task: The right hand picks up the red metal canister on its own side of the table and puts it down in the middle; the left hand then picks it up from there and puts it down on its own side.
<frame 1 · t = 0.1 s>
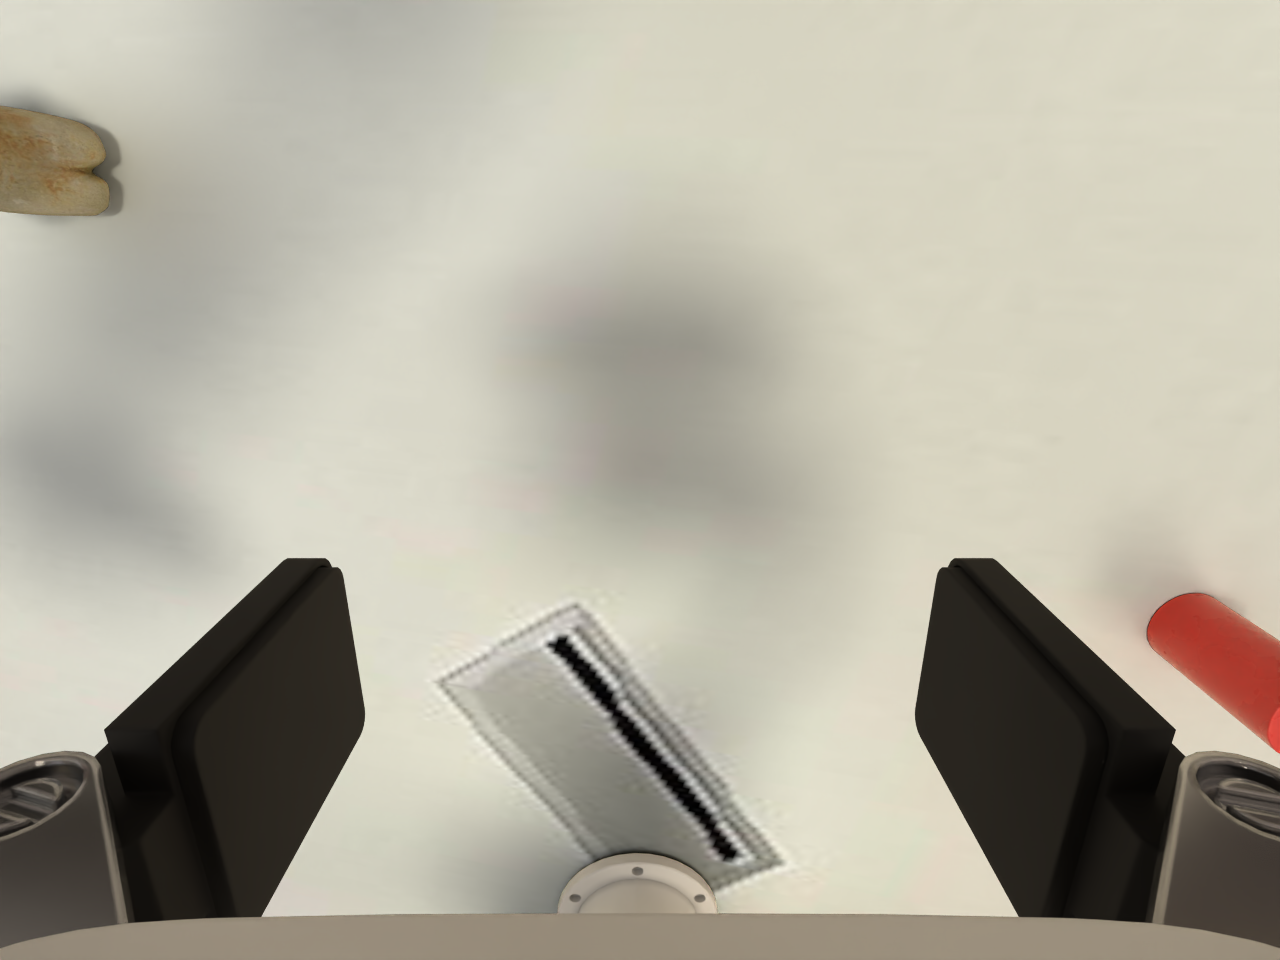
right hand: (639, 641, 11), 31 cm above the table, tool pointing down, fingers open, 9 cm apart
sculpture: (55, 165, 37), on the table
canister: (1185, 625, 47), on the table
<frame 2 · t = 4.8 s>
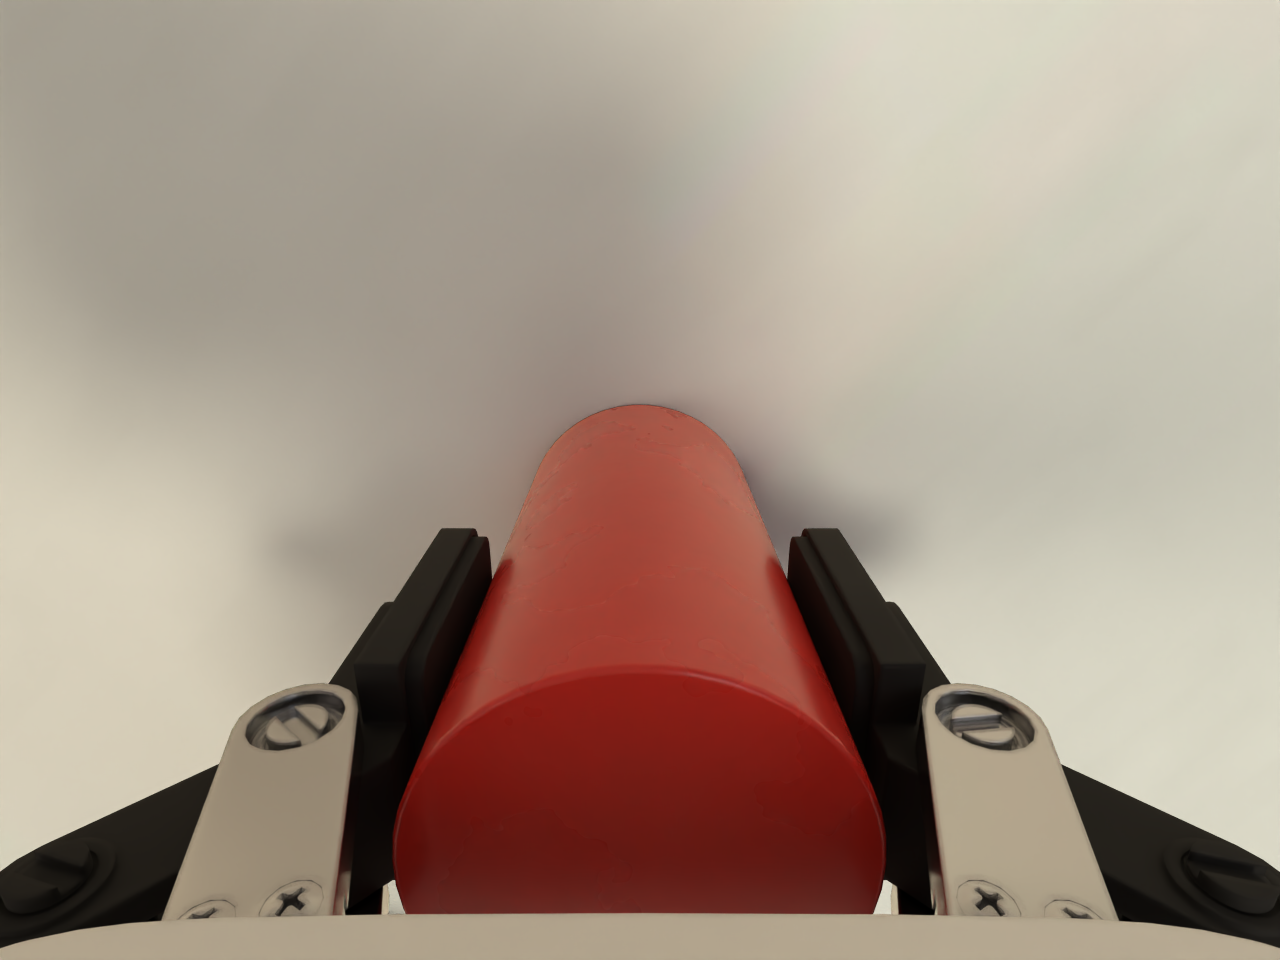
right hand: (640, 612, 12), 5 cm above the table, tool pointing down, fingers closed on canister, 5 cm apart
canister: (639, 509, 16), on the table, touching right hand
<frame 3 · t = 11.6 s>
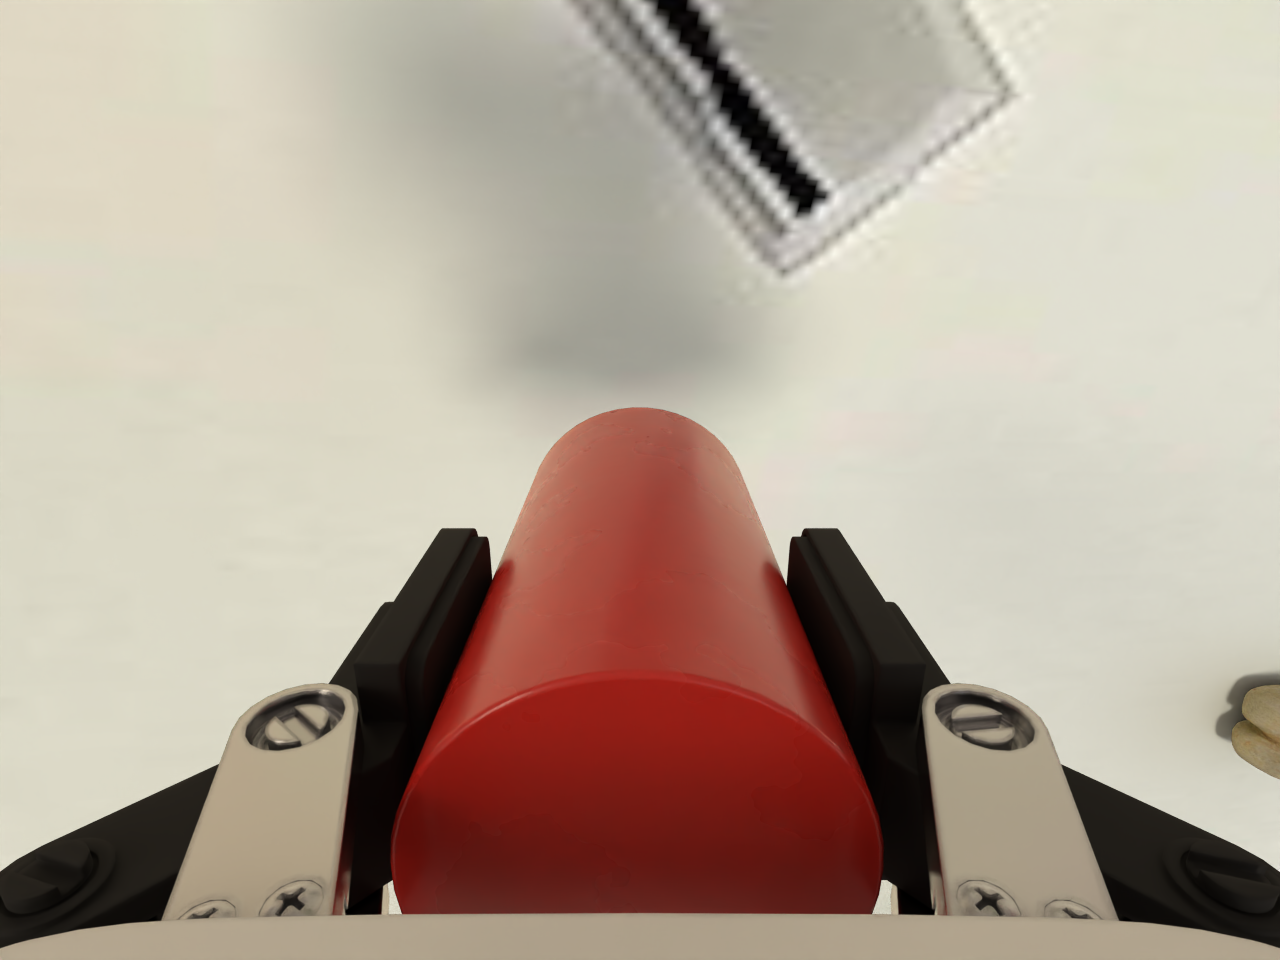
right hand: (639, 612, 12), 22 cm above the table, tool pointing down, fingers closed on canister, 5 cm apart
canister: (638, 512, 16), point 18 cm above the table, touching right hand
when the right hand's fingers open (5 cm above the table, at t = 18.4 s): canister stays where it is, on the table.
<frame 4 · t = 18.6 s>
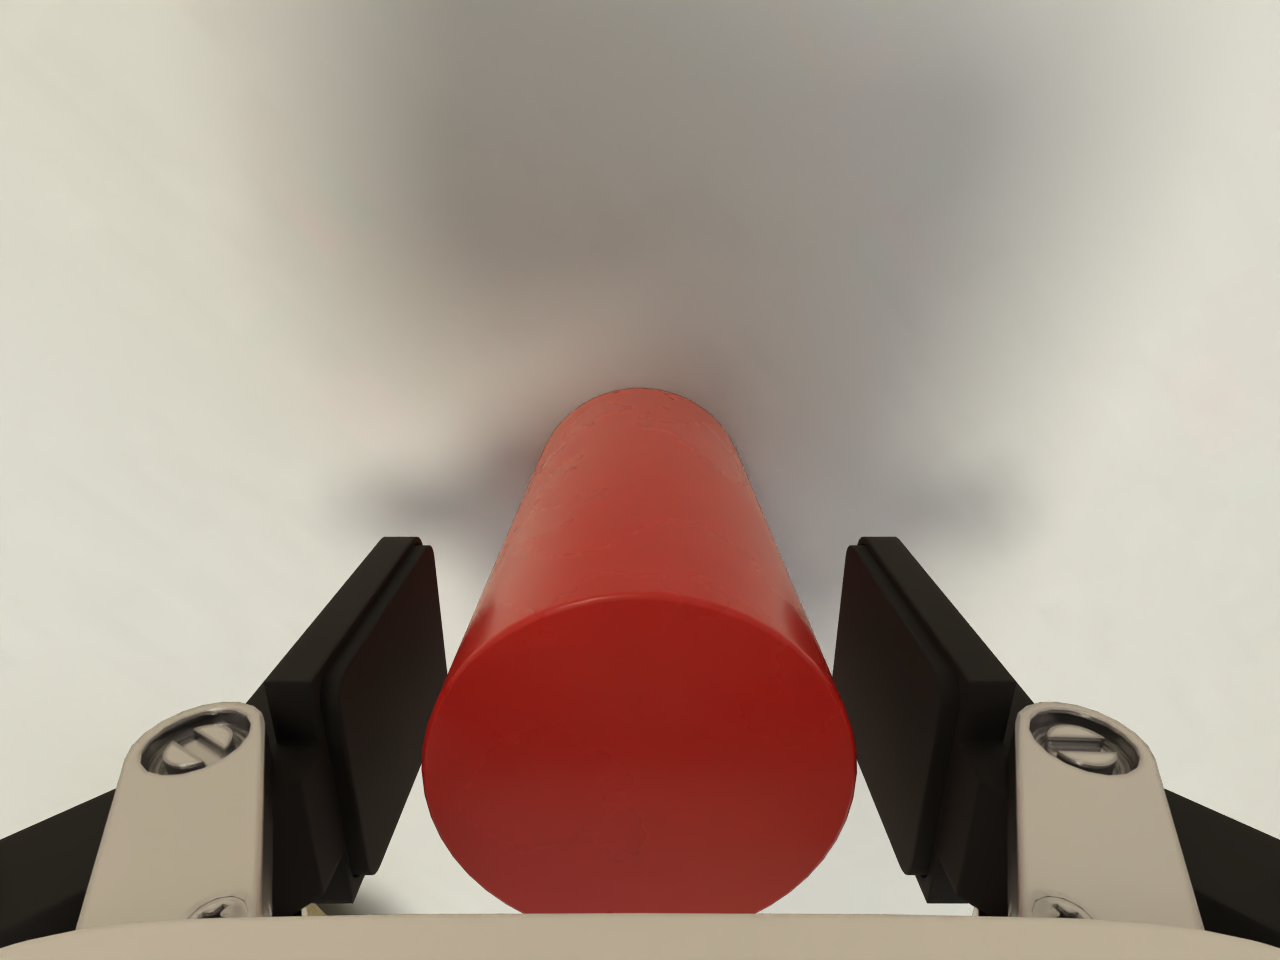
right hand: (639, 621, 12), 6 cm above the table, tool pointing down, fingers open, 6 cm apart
canister: (639, 488, 17), on the table
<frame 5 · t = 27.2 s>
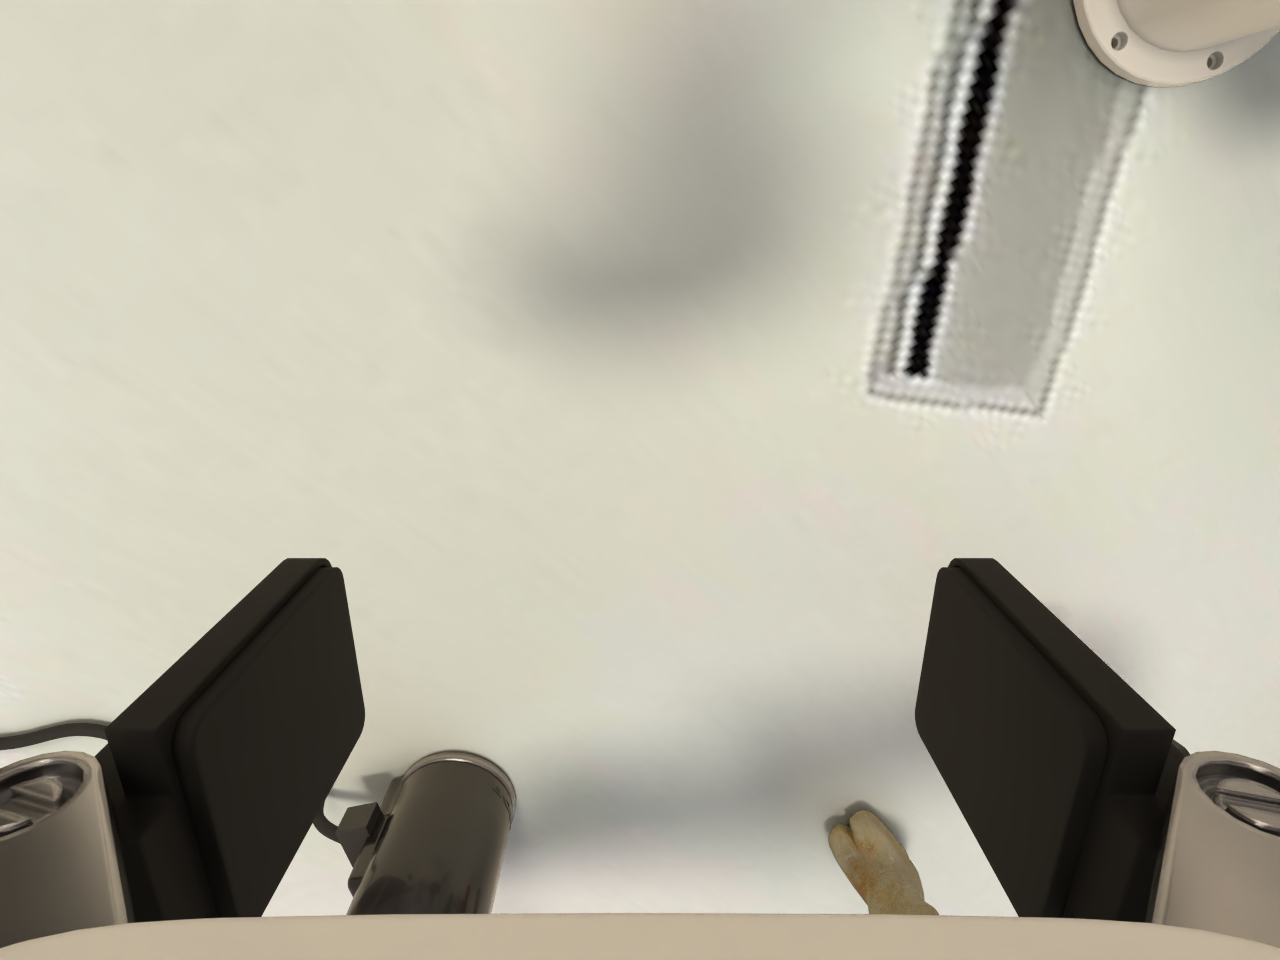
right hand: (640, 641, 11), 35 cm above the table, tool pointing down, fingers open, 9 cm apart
sculpture: (865, 834, 59), on the table
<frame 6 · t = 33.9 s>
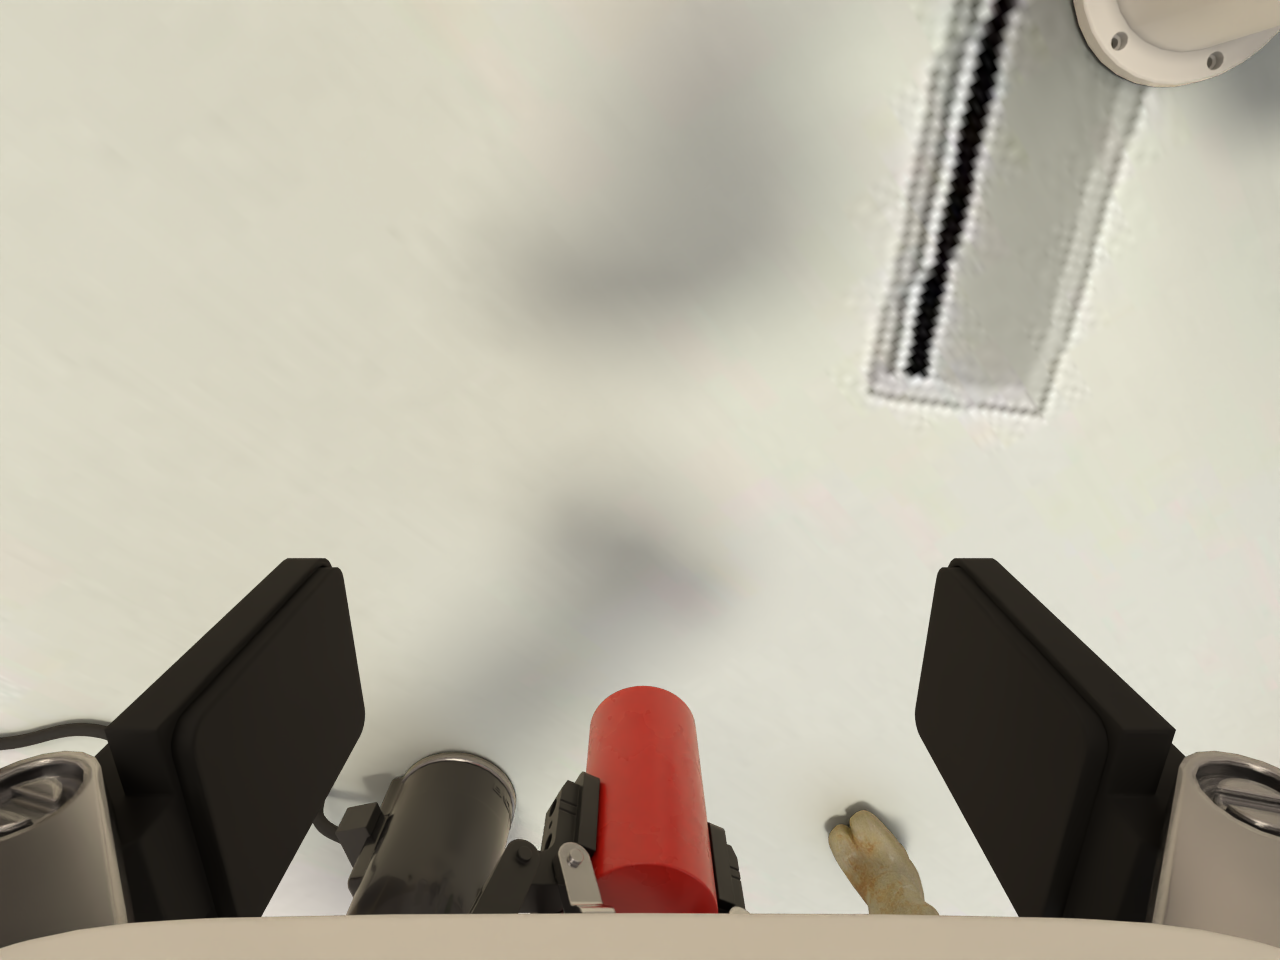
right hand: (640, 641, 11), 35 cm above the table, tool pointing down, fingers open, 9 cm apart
sculpture: (865, 834, 59), on the table
canister: (642, 729, 33), point 18 cm above the table, touching left hand
when the left hand's fingers open (6 cm above the table, at t = 40.8 s): canister stays where it is, on the table.
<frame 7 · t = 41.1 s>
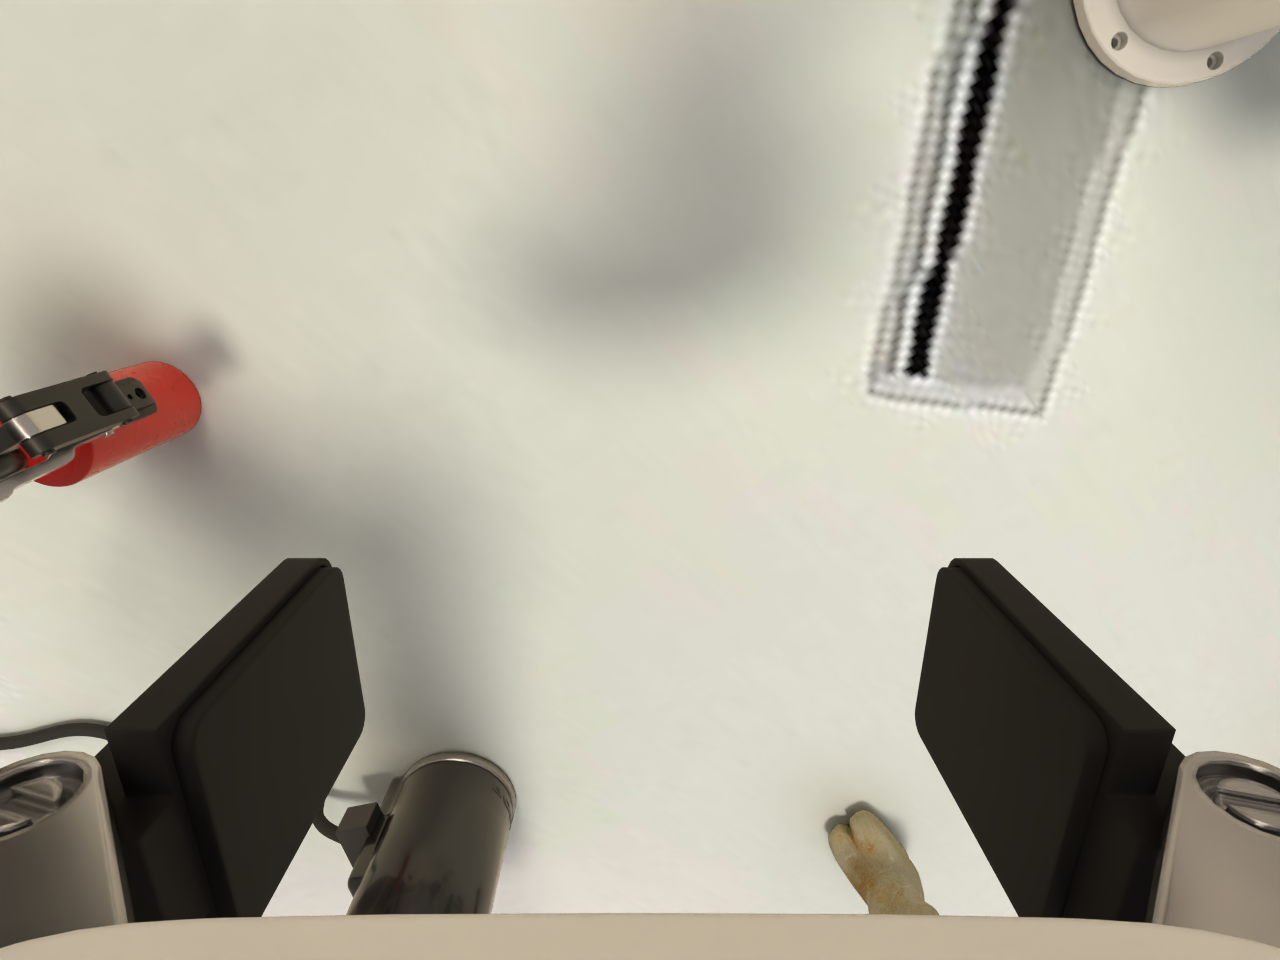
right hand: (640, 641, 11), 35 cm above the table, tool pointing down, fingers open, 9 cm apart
sculpture: (865, 834, 59), on the table
canister: (162, 399, 46), on the table
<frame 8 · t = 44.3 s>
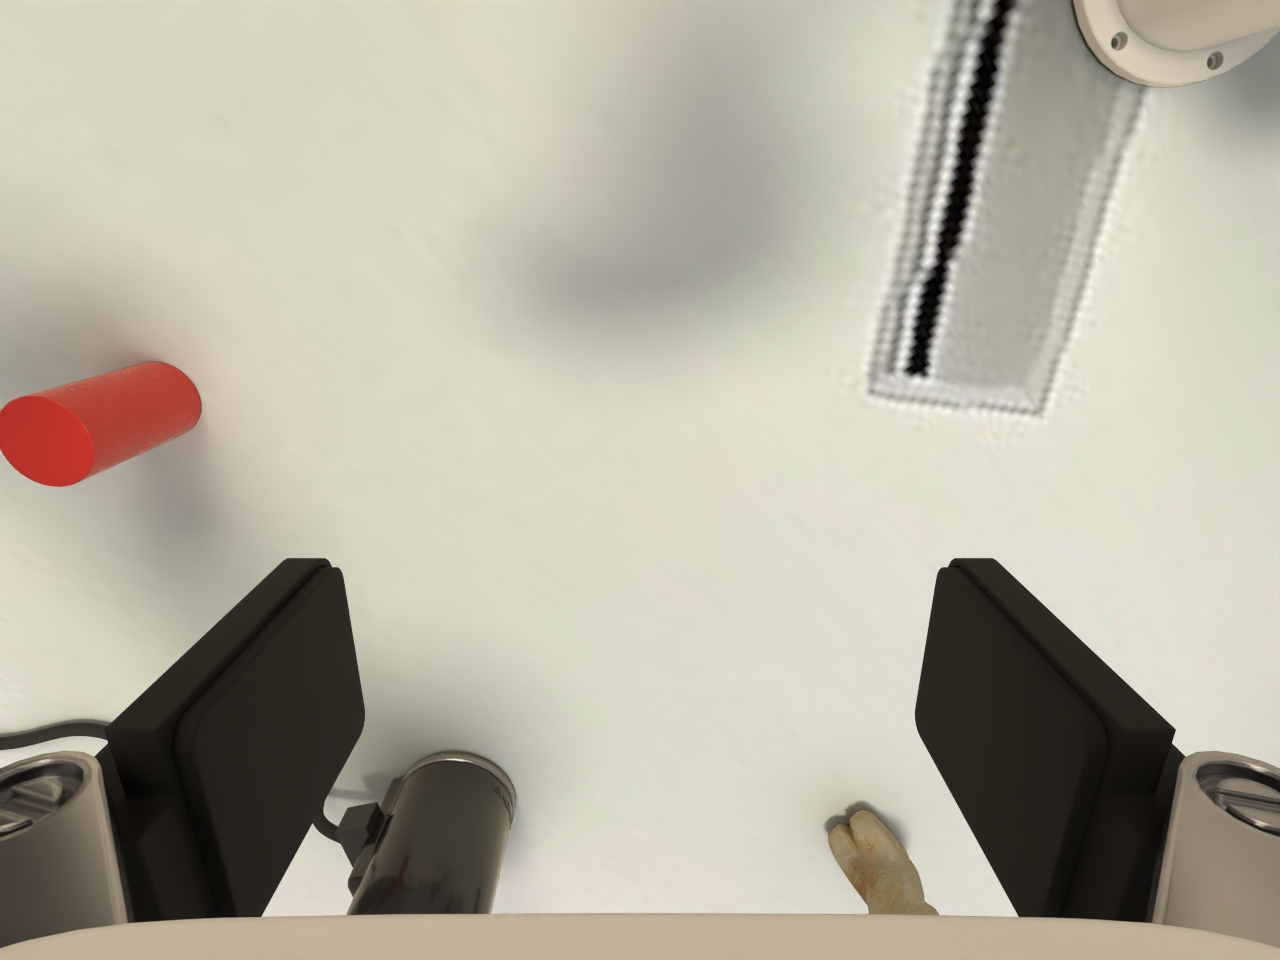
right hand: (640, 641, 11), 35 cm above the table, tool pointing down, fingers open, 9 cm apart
sculpture: (865, 834, 59), on the table
canister: (162, 399, 46), on the table
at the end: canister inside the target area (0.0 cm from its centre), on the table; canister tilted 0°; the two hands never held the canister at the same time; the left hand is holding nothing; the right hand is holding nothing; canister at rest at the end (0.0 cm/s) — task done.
